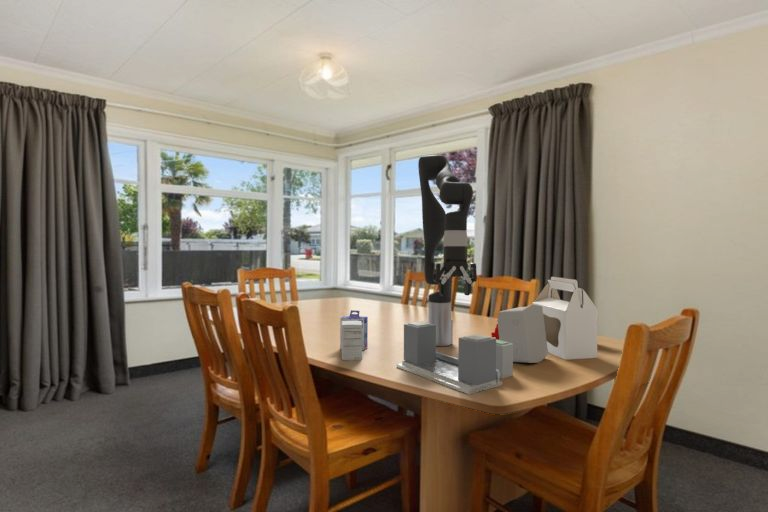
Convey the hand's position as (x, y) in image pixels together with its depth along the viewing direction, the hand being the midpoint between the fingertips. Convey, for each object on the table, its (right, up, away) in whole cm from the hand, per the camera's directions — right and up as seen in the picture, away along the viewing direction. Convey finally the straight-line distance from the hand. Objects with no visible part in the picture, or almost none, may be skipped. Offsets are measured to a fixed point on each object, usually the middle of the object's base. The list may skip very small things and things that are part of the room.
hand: (454, 295), depth 141 cm
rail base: (-3, -24, -4) cm, 25 cm away
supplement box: (-34, -24, +16) cm, 45 cm away
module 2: (+4, -23, -15) cm, 27 cm away
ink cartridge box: (-34, -23, +30) cm, 51 cm away
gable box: (+45, -24, +26) cm, 58 cm away
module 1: (-11, -22, +6) cm, 25 cm away
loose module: (+13, -25, -2) cm, 28 cm away
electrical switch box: (+25, -24, +17) cm, 39 cm away
